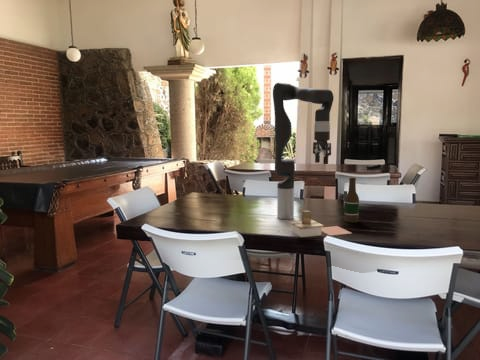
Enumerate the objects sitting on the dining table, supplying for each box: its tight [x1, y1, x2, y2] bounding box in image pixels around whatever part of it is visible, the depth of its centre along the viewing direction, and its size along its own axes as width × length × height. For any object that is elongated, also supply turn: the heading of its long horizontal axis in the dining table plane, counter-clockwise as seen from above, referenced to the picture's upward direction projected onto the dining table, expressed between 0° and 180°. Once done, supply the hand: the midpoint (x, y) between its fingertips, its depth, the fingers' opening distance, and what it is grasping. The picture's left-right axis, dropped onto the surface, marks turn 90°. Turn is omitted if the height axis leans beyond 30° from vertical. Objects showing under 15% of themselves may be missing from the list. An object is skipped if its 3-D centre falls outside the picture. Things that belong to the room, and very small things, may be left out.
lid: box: [289, 209, 325, 229], centre depth 184 cm, size 12×12×7 cm
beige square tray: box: [291, 224, 322, 238], centre depth 185 cm, size 11×11×4 cm
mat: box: [321, 225, 352, 236], centre depth 189 cm, size 14×12×1 cm
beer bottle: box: [343, 176, 360, 224], centre depth 206 cm, size 8×8×24 cm
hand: (321, 163), depth 192 cm, fingers open, 8 cm apart
